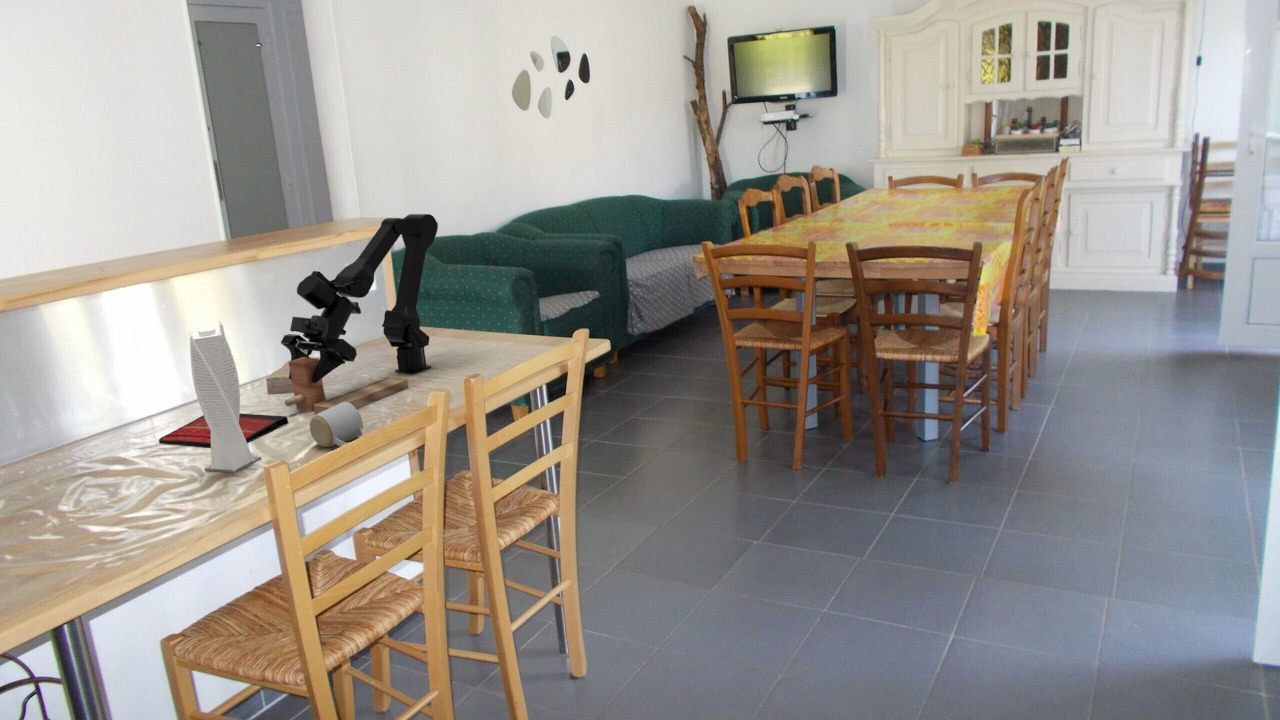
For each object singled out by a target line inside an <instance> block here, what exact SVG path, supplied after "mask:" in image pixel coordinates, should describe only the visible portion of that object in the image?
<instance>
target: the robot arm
mask: <svg viewBox="0 0 1280 720" xmlns="http://www.w3.org/2000/svg"><path fill="white" fill-rule="evenodd" d="M438 229H439V224H438V221H437V220H436V217H434V216H433V215H431V214H430V213H410V214H408V215H406V216H404V218H399V217H386V218H384V219H383V220H382V221H381V224H380V227H379V228H378V229H377V231H376V232H375V234H374V235H373V236H372V238H371V239H370V241H369V242H368V243H367V245H366V246H365V248H363V250H362V252H361V253H360V255H359V256H358V257H357V259H356V260H355V261H353V262H351V263H350V264H348V265H347V266H344V268H343V269H342V270H341V271H340V272H339V273H337V275H336V276H335V278H333V279H331V280H329V279H328V278H327V277H326V276H325V275H324V274H323V273H322V272H321V271H320V270H319V271H318V270H313V271H312V272H311V274H310V275H308V276H306V277H305V278H304V279H302V280H301V281H300V282H299V283H298V284H297V288H296V294H297V295H298V296H299V297H300V298H302V299H303V300H304V301H306V302H307V303H308V304H310V305H311V306H312V307H314V308H315V309H316V310H322V309H323V310H322V312H321V314H320V315H318V314H313V315H312V316H311V317H310V318H309V317H300V316H292V317H291V323H290V329H289V331H290V332H298V333H301V334H302V336H303V337H302V336H301V335H300V334H291V333H288V334H284V336H283V337H282V340H281V341H280V345H283V346H284V347H286V349H287V350H289V352H290V360H291V361H292V360H295V359H299V358H302V357H308V358H311V357H310V356H311V355H312V353H313V352H319V356H320V357H319V358H320V360H319V362H318V364H317V367H316V369H315V371H314V373H313V376H312V379H311V382H313V383H316V382H318V381H319V380H320V379H322V380H323V378H324V377H326V376H327V375H328V374H329V373H331V372H333V371H334V370H335V369H337V368H339V367H340V366H341V365H345V364H346V362H352V363H354V362H355V360H356V357H357V355H358V354H357V353H358V352H357V348H355V347H354V345H353V346H352V345H351V343H349V342H348V341H346V340H345V339H343V338H340V337H341V336H345V335H346V333H347V331H348V330H347V331H346V330H345V327H346V325H347V322H348V321H349V319H350V318H351V317H350V316H351V315H352V314H355V315H356V314H357V315H360V314H362V310H361V308H360V305H359V302H358V301H352V300H350V299H349V298H355V299H361V298H364V297H367V295H368V294H369V292H370V291H371V288H372V286H373V285H374V282H375V273H376V271H377V269H378V268H379V266H380V265H381V264H382V263H383V261H384V259H385V258H386V256H387V255H388V253H389V252H390V250H391V249H392V248H393V246H394V245H395V244H396V242H397V241H398V239H399V238H400V236H401V238H402V239H401V240H402V242H403V244H404V247H405V250H404V256H403V262H402V265H401V273H400V279H399V283H398V288H397V289H398V290H397V295H396V300H395V305H394V306H393V308H392V309H391V310H389V309H388V310H385V311H384V318H383V319H384V320H383V323H382V324H381V327H383V335H384V336H385V338H386V340H388V342H389V344H390V346H391V347H392V348H396V354H397V355H396V361H397V362H396V363H397V367H398V368H397V369H394V373H401V374H411V375H414V374H417V373H420V372H423V371H425V370H428V369H430V368H432V365H431V364H427V361H426V353H425V348H426V347H427V346H429V344H430V336H429V335H428V334H427V333H425V332H424V331H423V330H422V329H421V328H420V327H421V319H420V316H419V313H418V310H417V306H418V305H417V304H418V298H419V294H420V287H421V283H422V282H421V281H422V275H423V272H424V271H423V270H424V265H425V260H426V254H427V251H428V250H429V249H430V247H431V246H432V244H433V243H434V242H435V239H436V236H437V233H438ZM289 379H291V373H289ZM291 380H292V379H291Z"/></svg>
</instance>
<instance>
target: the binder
mask: <svg viewBox="0 0 1280 720" xmlns="http://www.w3.org/2000/svg"><path fill="white" fill-rule="evenodd" d="M282 424H284V425H287V424H289V419H288V416H285V415H284V416H283V415H274V414H273V415H272V414H271V415H269V414H254V413H253V414H252V413H240V414H239V426H240V428H241V430H242V432H243V435H244V437H245V439H246V442H247V443H249V442H251V441H253V440H256V439H258V438H260V437H263V436H265V435H268V434H269V433H272V432H273V431H275V430H278V427H275V426H276V425H282ZM274 427H275V428H274ZM158 442H160V443H159V444H161V443H164V444H163V445H181V444H183V445H184V444H185V445H184V446H198V445H199V447H200V446H201V447H210V446H211V430H210V428H209V426H208V424H207V422H206V420H205V417H204V415H203V414H202V416H200V417H197V418H196V419H194V420H193V421H191V422H188V423H187V424H183V426H181V427H178V428H177V429H175V430H173V431H171V432H169V433H168V434H165V435H164V436H161V437H160V438H159V439H158ZM165 443H166V444H165Z"/></svg>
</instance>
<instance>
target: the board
mask: <svg viewBox="0 0 1280 720" xmlns="http://www.w3.org/2000/svg"><path fill="white" fill-rule="evenodd" d="M408 388H409V382H408V379H406V378H398V377H390V376H389V377H388V376H387V377H384V378H382V379H378V380H376V381H373V382H370V383H368V384H366V385H363V386H360V387H357V388H355V389H352V390H349V391H346V392H344V393H341V394H339V395H337V396H333V397H331V398H328V399H325V400H326V401H323V402H320V403H318V404H315V405H313V406H314V411H313V412H314V415H317V414H318V413H320V412H322V411H325V410H327V409H329V408H331V407H334V406H336V405H338V404H340V403H342V402H348V403H351V404H352V405H353V406H354V407H355V408H356V409H357V410H358V409H359V408H361V407H362V408H363V407H365V406H366V405H369V404H371V403H374V402H376V401H378V400H381V399H383V398H386V397H389V396H392V395H393V394H396V393H399V392H401V391H403V390H406V389H408Z"/></svg>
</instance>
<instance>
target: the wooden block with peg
mask: <svg viewBox="0 0 1280 720" xmlns="http://www.w3.org/2000/svg"><path fill="white" fill-rule="evenodd" d="M288 361H289V367H290V373H291V379H292V384H293V390H294V393H293V395H294V396H292V397H289V398H287V399H285V401H284V404H285V406H286V407H291V406H293V405H296V410H299V411H306V412H312V413H313V412H314V406H313V405H315V404H318V403H320V402H323V401H326V400H327V399H326V395H325V390H324V384H323V378H322V379H320V380H319V381H318V382H316V383H313V382H311V379H312V376H313V373H314V371H315V369H316V367H317V364H318V362H319V359H317V358H312V357H310V358H308V357H302V358H299V359H295V360H292V361H290V360H288Z"/></svg>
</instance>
